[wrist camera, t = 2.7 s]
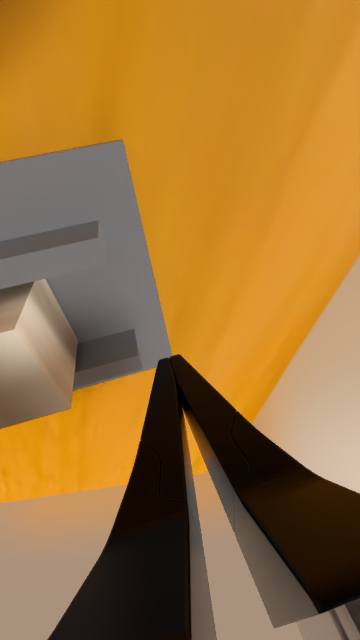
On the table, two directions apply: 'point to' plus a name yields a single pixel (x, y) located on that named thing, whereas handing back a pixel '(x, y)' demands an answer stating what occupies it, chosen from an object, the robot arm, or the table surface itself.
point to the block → (34, 354)
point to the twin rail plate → (85, 255)
